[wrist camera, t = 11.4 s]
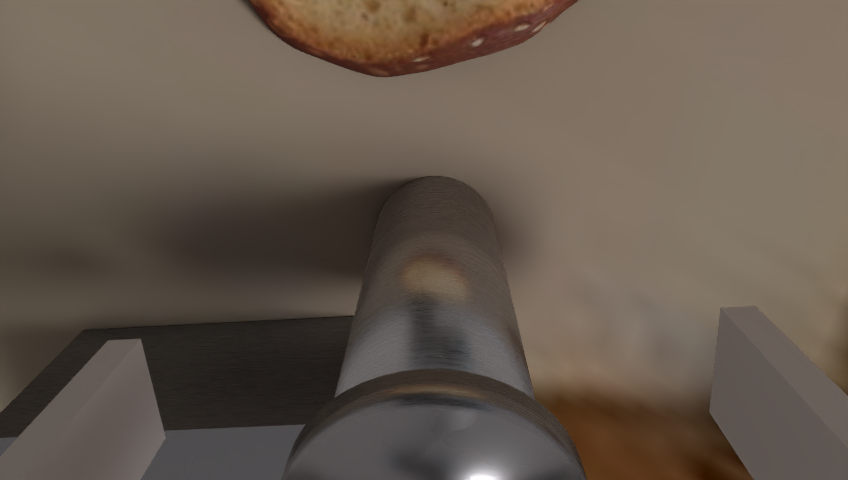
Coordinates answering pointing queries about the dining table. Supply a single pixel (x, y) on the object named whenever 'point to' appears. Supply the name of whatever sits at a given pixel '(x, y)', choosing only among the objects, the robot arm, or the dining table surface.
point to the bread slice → (405, 30)
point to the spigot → (434, 359)
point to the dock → (214, 391)
